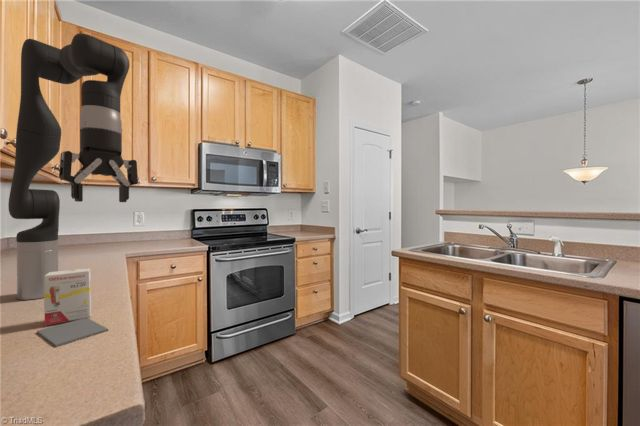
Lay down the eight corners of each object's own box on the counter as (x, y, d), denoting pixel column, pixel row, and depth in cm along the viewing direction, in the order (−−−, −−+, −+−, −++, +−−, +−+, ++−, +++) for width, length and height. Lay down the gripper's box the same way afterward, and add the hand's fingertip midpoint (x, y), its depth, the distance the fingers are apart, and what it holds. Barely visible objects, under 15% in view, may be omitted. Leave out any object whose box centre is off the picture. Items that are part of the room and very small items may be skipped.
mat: (36, 332, 63) (36, 330, 63) (86, 319, 71) (86, 317, 71) (56, 346, 57) (56, 344, 57) (108, 330, 65) (108, 328, 65)
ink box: (43, 326, 66) (42, 275, 66) (46, 320, 70) (46, 272, 70) (90, 317, 71) (89, 269, 71) (91, 312, 75) (90, 267, 75)
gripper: (128, 139, 72) (128, 202, 73) (54, 125, 60) (54, 201, 61) (143, 135, 69) (143, 202, 69) (67, 119, 56) (68, 201, 57)
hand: (101, 201), depth 65 cm, fingers open, 8 cm apart
